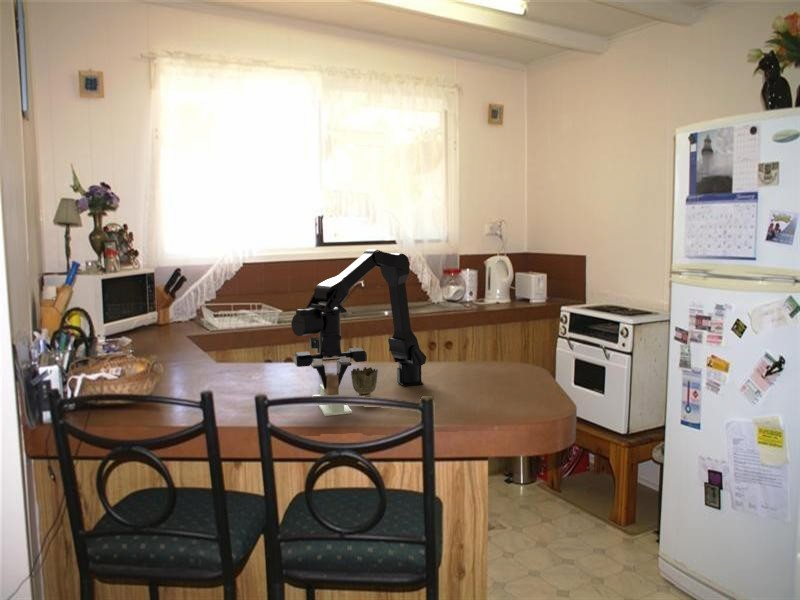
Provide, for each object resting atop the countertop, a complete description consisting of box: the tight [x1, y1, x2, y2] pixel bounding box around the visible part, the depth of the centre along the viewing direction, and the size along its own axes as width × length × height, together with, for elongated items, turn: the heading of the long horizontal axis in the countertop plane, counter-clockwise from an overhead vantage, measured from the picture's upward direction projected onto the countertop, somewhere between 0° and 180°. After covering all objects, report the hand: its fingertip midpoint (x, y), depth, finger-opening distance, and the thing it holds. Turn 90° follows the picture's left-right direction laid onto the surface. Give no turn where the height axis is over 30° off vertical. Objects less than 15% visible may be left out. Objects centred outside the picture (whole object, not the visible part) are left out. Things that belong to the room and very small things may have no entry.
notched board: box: [312, 383, 353, 417], centre depth 170 cm, size 7×18×4 cm, turn 18°
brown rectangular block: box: [324, 371, 340, 395], centre depth 169 cm, size 3×4×5 cm, turn 18°
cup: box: [350, 366, 379, 397], centre depth 175 cm, size 8×7×8 cm
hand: (331, 388), depth 169 cm, fingers closed on brown rectangular block, 3 cm apart
